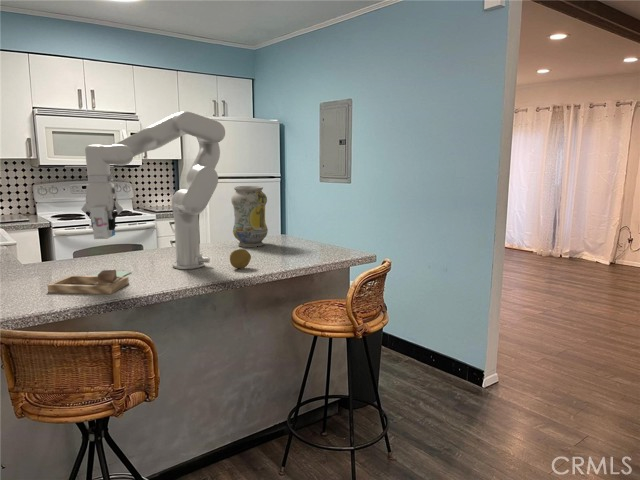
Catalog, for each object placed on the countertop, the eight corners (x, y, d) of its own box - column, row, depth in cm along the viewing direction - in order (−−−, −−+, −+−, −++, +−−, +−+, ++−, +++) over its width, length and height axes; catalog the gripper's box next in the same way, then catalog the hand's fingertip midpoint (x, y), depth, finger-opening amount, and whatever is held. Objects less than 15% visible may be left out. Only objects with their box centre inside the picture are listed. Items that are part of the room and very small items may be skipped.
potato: (227, 269, 186) (226, 250, 184) (237, 265, 193) (236, 246, 191) (242, 271, 183) (242, 251, 182) (252, 267, 190) (251, 248, 189)
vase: (251, 249, 226) (250, 188, 221) (225, 245, 236) (223, 186, 231) (274, 244, 241) (274, 186, 236) (248, 240, 251) (247, 185, 245)
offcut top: (116, 278, 161) (116, 269, 160) (112, 282, 155) (111, 274, 154) (103, 278, 160) (102, 270, 159) (98, 283, 154) (97, 274, 154)
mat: (131, 272, 180) (131, 271, 180) (113, 282, 166) (112, 280, 166) (101, 271, 181) (101, 270, 180) (80, 281, 167) (80, 280, 167)
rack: (128, 283, 164) (128, 276, 164) (110, 294, 151) (109, 286, 151) (71, 282, 165) (70, 275, 165) (48, 292, 153) (47, 285, 152)
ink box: (101, 235, 175) (99, 204, 172) (115, 235, 175) (113, 203, 173) (93, 239, 166) (89, 206, 164) (107, 239, 167) (104, 206, 165)
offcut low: (120, 286, 161) (119, 278, 161) (110, 292, 154) (109, 283, 154) (106, 286, 162) (105, 278, 161) (95, 292, 155) (94, 283, 154)
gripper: (127, 179, 170) (131, 228, 173) (82, 179, 171) (87, 227, 174) (117, 180, 163) (121, 231, 166) (70, 180, 164) (75, 231, 167)
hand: (104, 229), depth 170 cm, fingers closed on ink box, 5 cm apart
